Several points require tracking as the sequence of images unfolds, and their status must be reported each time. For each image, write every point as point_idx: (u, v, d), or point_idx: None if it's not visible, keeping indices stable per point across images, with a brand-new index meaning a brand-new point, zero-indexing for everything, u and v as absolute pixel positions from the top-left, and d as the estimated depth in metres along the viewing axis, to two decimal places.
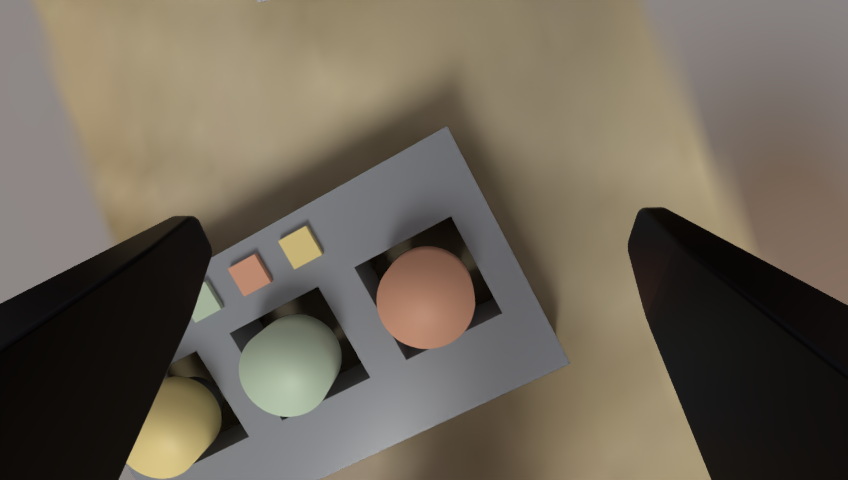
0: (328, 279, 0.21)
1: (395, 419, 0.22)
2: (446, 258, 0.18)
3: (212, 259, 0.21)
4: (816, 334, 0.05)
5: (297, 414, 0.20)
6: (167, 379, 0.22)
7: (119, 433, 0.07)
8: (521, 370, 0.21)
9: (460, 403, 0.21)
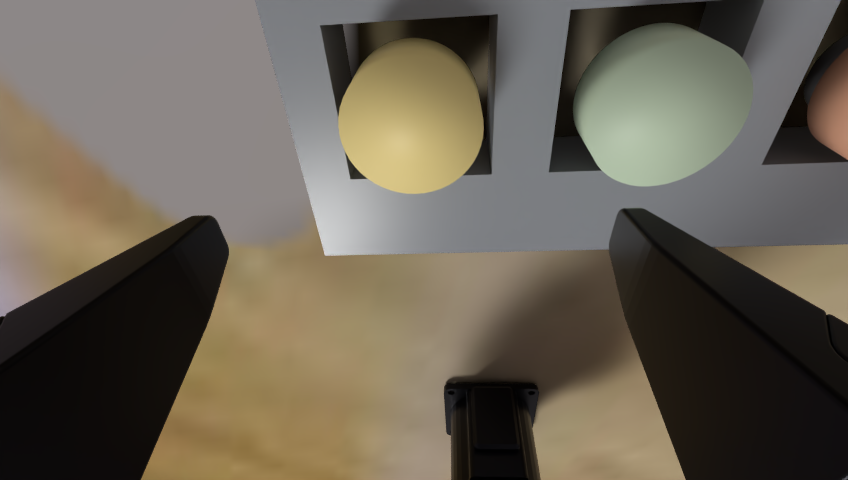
0: None
1: (679, 224, 0.17)
2: None
3: None
4: (780, 334, 0.05)
5: (632, 183, 0.14)
6: (430, 42, 0.13)
7: (141, 433, 0.07)
8: None
9: (762, 236, 0.17)
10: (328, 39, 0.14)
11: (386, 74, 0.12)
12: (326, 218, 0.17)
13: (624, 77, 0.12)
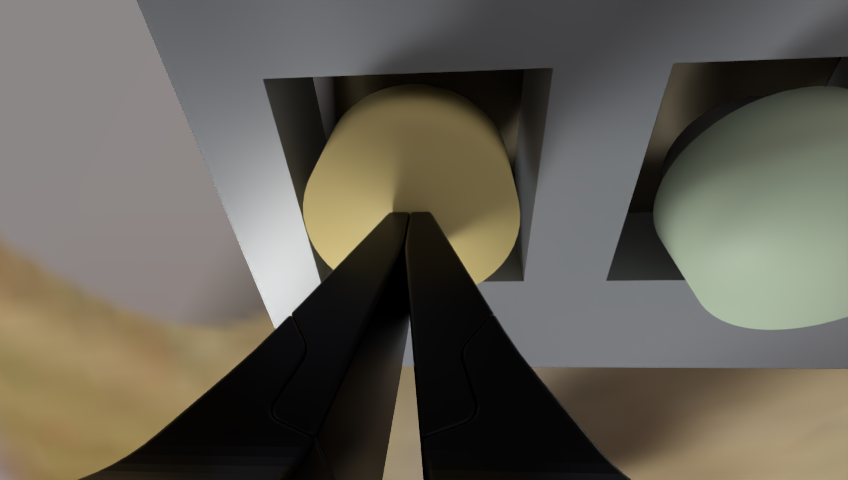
0: None
1: (779, 343, 0.12)
2: None
3: None
4: (429, 334, 0.05)
5: (749, 325, 0.09)
6: (441, 92, 0.09)
7: (384, 437, 0.07)
8: None
9: None
10: (281, 95, 0.09)
11: (374, 149, 0.08)
12: None
13: (775, 188, 0.07)
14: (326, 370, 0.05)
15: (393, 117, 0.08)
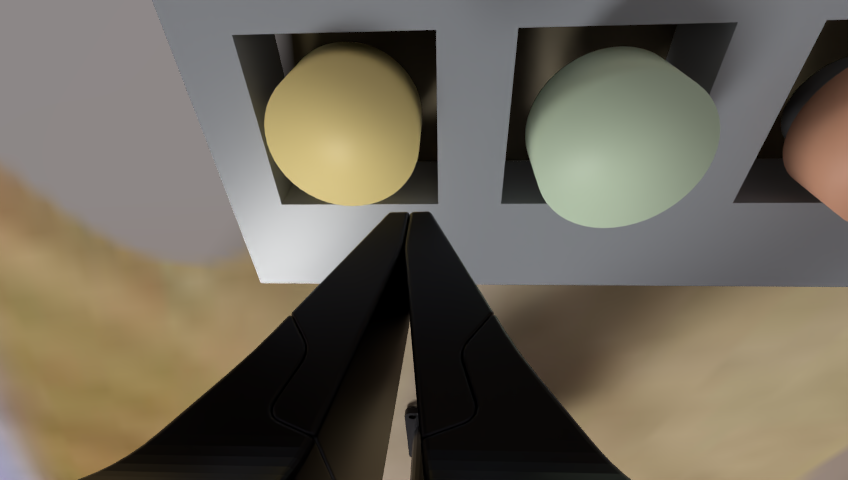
0: (766, 18, 0.10)
1: (644, 261, 0.15)
2: None
3: None
4: (429, 333, 0.05)
5: (587, 224, 0.12)
6: (365, 47, 0.12)
7: (384, 437, 0.07)
8: (835, 272, 0.15)
9: (733, 276, 0.16)
10: (247, 50, 0.12)
11: (311, 81, 0.11)
12: (258, 244, 0.16)
13: (574, 110, 0.10)
14: (326, 370, 0.05)
15: (325, 59, 0.11)
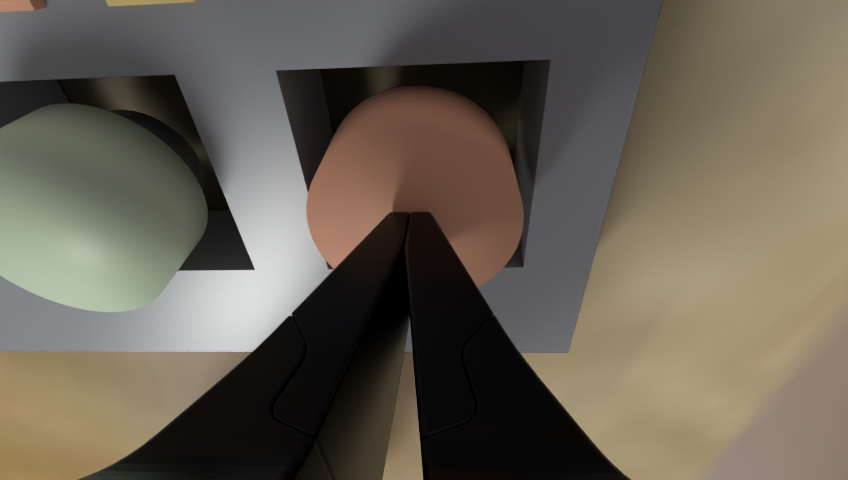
0: (204, 70, 0.08)
1: None
2: (504, 168, 0.08)
3: None
4: (429, 334, 0.05)
5: (89, 308, 0.10)
6: None
7: (384, 437, 0.07)
8: None
9: None
10: None
11: None
12: None
13: None
14: (326, 370, 0.05)
15: None
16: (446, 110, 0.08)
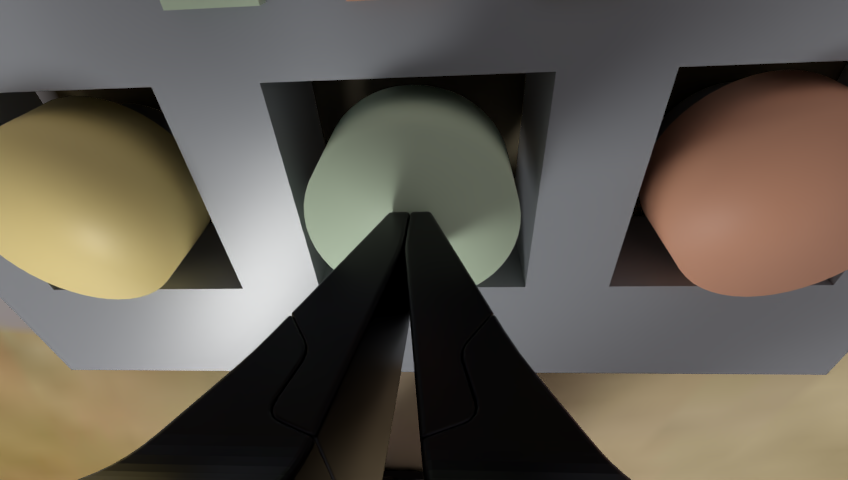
0: (594, 66, 0.07)
1: (518, 348, 0.12)
2: None
3: None
4: (429, 334, 0.05)
5: None
6: (95, 104, 0.09)
7: (384, 437, 0.07)
8: (757, 359, 0.12)
9: (631, 363, 0.13)
10: None
11: None
12: (48, 331, 0.13)
13: (326, 171, 0.08)
14: (326, 370, 0.05)
15: (6, 128, 0.08)
16: None
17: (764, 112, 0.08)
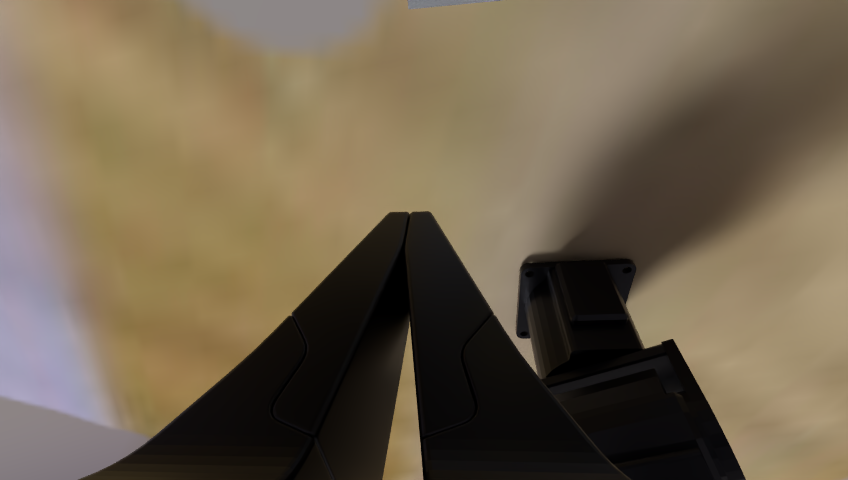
0: None
1: None
2: None
3: None
4: (429, 334, 0.05)
5: None
6: None
7: (384, 437, 0.07)
8: None
9: None
10: None
11: None
12: None
13: None
14: (326, 370, 0.05)
15: None
16: None
17: None
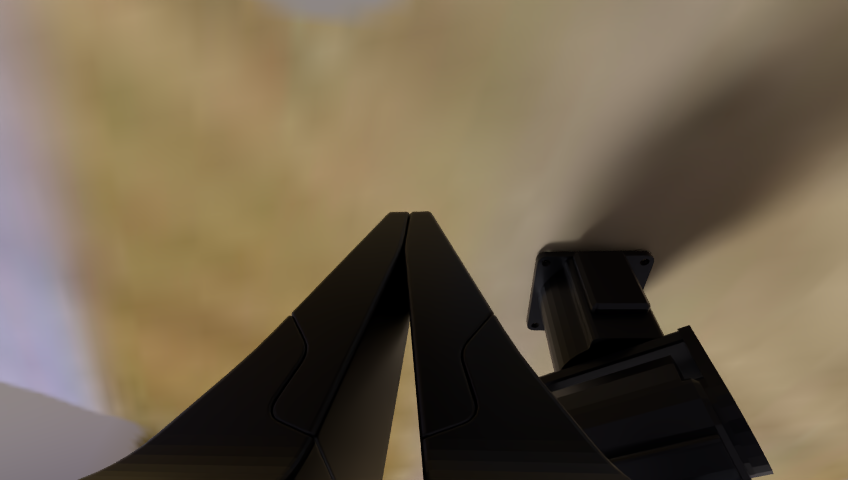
0: None
1: None
2: None
3: None
4: (429, 334, 0.05)
5: None
6: None
7: (384, 437, 0.07)
8: None
9: None
10: None
11: None
12: None
13: None
14: (326, 370, 0.05)
15: None
16: None
17: None
